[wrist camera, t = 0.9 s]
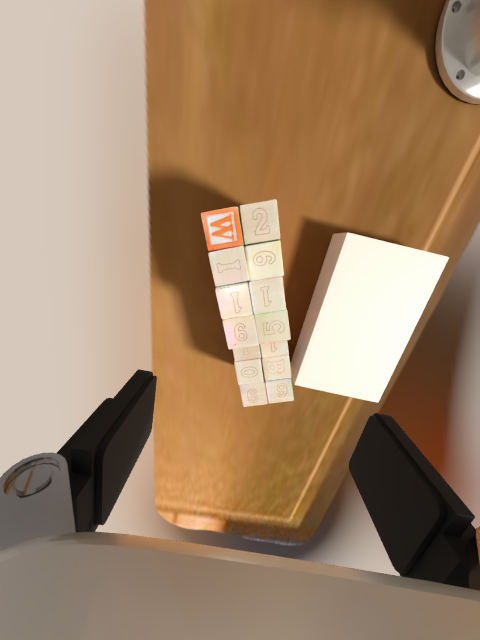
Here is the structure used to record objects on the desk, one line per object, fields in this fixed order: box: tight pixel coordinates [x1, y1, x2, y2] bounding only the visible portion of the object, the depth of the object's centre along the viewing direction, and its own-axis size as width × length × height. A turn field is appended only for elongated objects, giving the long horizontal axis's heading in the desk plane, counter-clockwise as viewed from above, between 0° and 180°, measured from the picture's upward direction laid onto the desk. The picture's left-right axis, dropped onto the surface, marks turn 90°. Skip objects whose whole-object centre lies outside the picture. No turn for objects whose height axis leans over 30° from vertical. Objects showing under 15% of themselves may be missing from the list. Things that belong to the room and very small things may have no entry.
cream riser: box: [290, 232, 449, 403], centre depth 32 cm, size 12×20×5 cm, turn 167°
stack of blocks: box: [201, 199, 294, 407], centre depth 28 cm, size 21×6×12 cm, turn 9°
